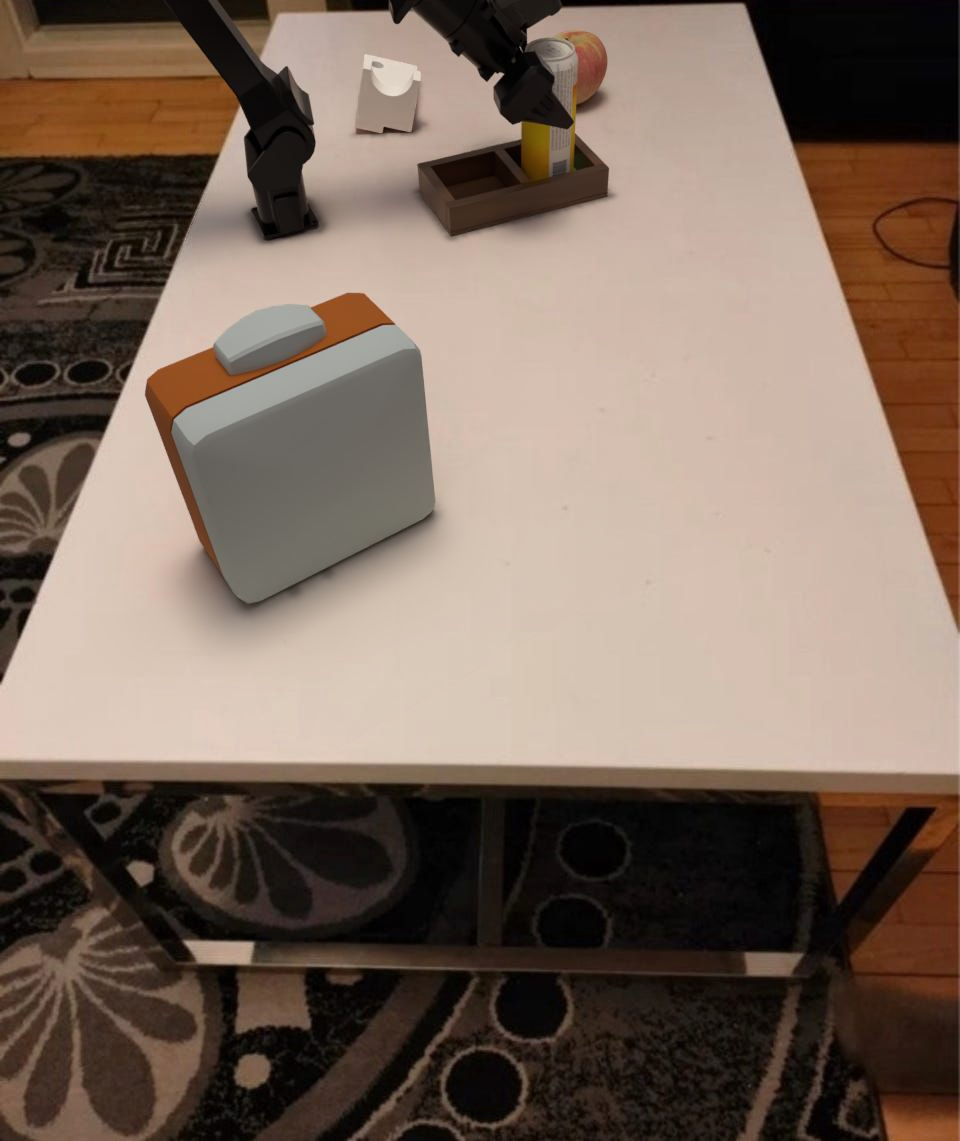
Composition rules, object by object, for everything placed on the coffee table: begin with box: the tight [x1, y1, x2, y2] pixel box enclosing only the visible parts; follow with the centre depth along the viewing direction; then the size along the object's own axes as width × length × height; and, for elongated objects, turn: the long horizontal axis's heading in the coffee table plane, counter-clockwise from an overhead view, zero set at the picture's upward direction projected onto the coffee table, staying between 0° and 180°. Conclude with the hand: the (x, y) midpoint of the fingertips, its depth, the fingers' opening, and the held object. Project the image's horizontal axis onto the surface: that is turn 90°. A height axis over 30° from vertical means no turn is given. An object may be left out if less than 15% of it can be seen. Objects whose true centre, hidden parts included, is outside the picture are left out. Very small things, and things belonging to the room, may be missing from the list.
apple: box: [551, 29, 608, 106], centre depth 130 cm, size 9×9×8 cm
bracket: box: [354, 53, 422, 134], centre depth 130 cm, size 13×7×8 cm, turn 1°
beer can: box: [520, 37, 578, 182], centre depth 113 cm, size 6×6×15 cm
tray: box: [416, 132, 610, 236], centre depth 117 cm, size 10×20×4 cm, turn 112°
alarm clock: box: [144, 292, 436, 604], centre depth 78 cm, size 18×9×21 cm, turn 124°
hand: (560, 105), depth 113 cm, fingers open, 9 cm apart
